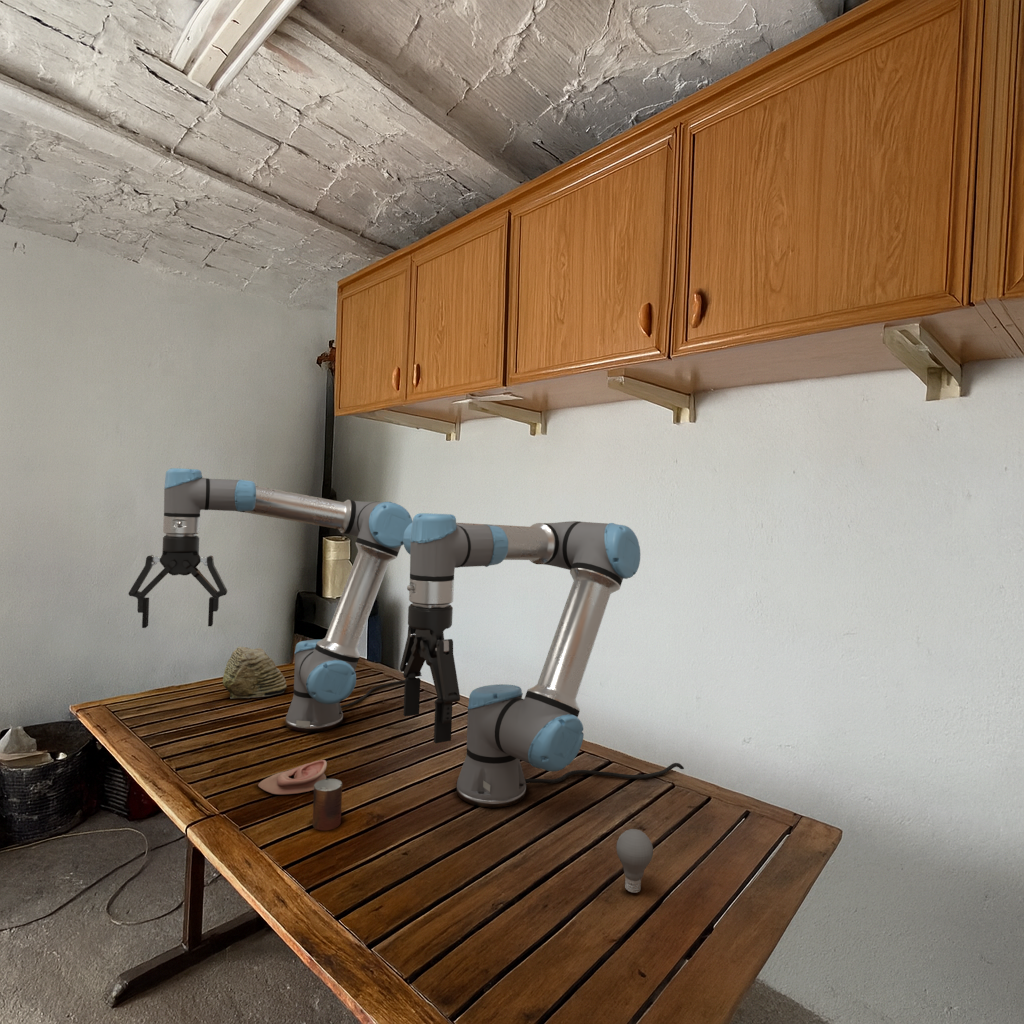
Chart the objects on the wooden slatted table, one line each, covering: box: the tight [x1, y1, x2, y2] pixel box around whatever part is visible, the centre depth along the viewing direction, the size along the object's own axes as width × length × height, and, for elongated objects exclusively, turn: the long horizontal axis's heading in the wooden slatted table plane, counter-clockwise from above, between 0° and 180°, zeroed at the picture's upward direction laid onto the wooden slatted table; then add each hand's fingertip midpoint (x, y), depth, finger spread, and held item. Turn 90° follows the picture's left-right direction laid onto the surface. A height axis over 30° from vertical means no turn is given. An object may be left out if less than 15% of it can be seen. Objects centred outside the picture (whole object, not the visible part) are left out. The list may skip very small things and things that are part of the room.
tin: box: [312, 778, 343, 832], centre depth 123 cm, size 5×5×8 cm
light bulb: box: [615, 828, 654, 894], centre depth 106 cm, size 6×6×10 cm
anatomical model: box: [257, 759, 328, 795], centre depth 139 cm, size 13×4×12 cm
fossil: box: [222, 646, 288, 699], centre depth 198 cm, size 9×18×15 cm, turn 132°
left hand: (178, 626), depth 147 cm, fingers open, 13 cm apart
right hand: (425, 727), depth 108 cm, fingers open, 13 cm apart
